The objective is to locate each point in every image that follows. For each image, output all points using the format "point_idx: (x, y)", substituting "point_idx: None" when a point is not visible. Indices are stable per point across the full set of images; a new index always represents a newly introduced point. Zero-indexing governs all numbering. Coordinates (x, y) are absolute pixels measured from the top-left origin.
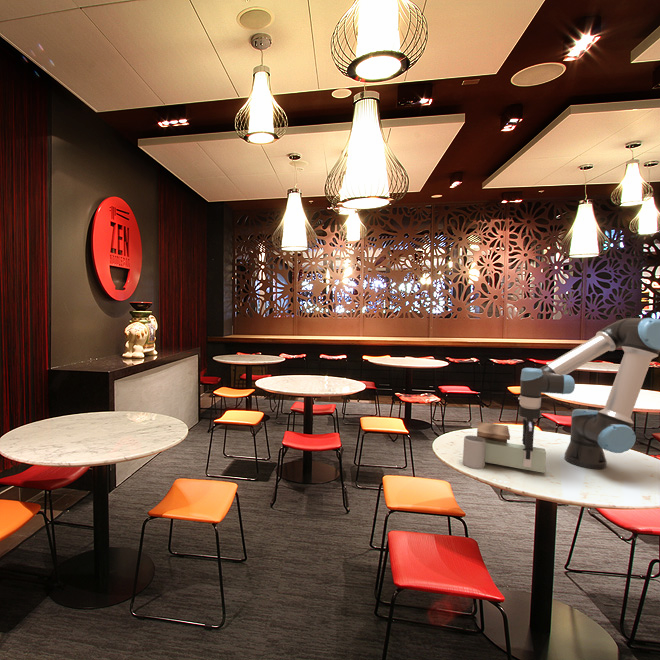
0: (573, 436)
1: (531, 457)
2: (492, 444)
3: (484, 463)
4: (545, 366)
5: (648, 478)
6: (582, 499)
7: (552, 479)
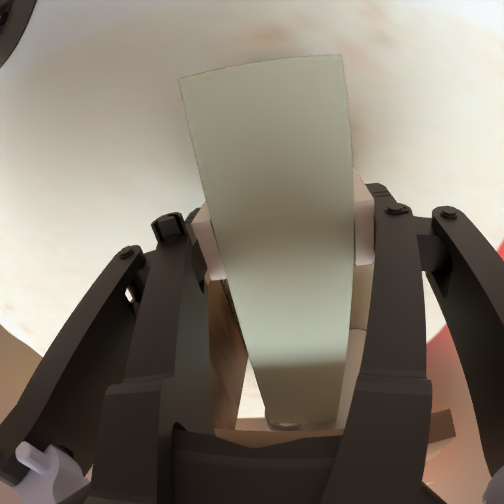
0: None
1: (359, 176)
2: (338, 403)
3: (354, 340)
4: None
5: None
6: None
7: (335, 29)
